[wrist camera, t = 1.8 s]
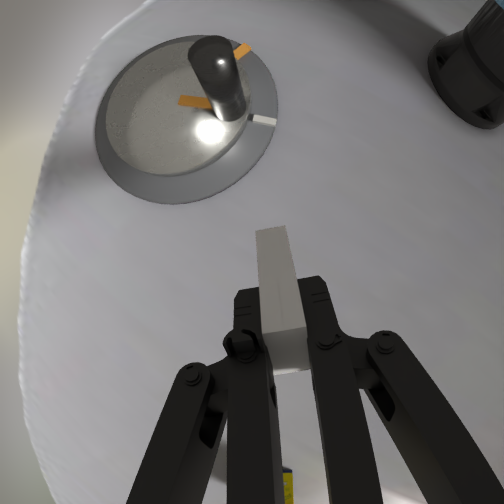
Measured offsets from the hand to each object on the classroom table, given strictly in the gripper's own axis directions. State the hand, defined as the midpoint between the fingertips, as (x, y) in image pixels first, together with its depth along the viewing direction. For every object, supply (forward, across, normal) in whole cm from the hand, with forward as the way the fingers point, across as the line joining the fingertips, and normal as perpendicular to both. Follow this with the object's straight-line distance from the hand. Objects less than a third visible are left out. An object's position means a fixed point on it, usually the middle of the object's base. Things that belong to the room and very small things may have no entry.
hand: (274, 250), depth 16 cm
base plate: (+26, +9, -5) cm, 28 cm away
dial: (+25, +9, -6) cm, 27 cm away
